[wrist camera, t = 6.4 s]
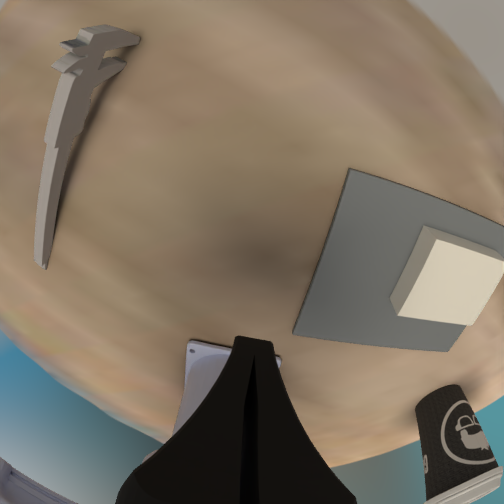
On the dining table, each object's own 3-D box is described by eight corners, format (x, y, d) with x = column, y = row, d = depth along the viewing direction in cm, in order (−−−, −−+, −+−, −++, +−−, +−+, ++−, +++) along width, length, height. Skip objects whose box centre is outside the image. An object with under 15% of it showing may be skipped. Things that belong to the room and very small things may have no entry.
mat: (446, 349, 23) (447, 352, 23) (292, 331, 23) (292, 334, 22) (514, 231, 17) (517, 233, 17) (349, 167, 16) (350, 169, 16)
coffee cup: (399, 399, 27) (424, 517, 14) (473, 364, 25) (516, 474, 12) (407, 427, 31) (425, 521, 18) (469, 400, 28) (498, 489, 15)
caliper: (131, 32, 13) (72, 14, 8) (144, 38, 13) (88, 20, 8) (40, 261, 22) (0, 302, 17) (49, 268, 22) (9, 310, 17)
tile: (389, 297, 20) (462, 310, 20) (397, 315, 18) (471, 325, 19) (423, 224, 17) (495, 250, 18) (436, 238, 15) (508, 263, 16)
